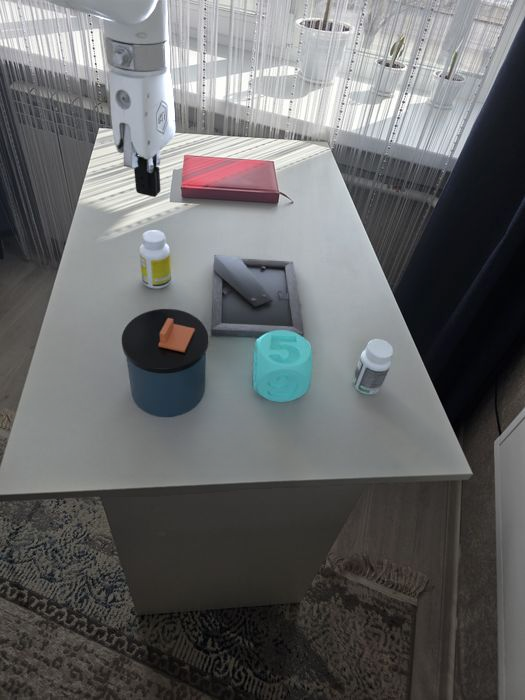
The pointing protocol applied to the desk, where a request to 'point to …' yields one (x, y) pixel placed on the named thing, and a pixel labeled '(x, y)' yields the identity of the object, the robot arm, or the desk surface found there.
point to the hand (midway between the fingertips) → (148, 192)
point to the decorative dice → (282, 366)
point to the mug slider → (175, 336)
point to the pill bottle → (373, 366)
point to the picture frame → (254, 297)
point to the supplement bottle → (155, 260)
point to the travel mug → (165, 364)
